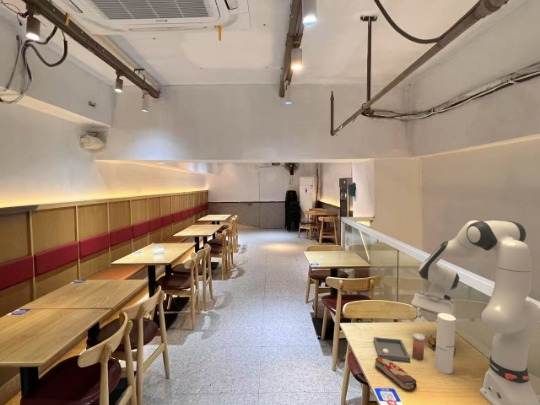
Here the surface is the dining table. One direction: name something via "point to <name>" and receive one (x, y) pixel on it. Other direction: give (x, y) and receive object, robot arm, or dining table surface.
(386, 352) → the mixing ball
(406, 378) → the pencil case
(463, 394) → the dining table surface
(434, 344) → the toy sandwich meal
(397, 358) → the tray
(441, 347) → the cylindrical container
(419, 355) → the shaker
